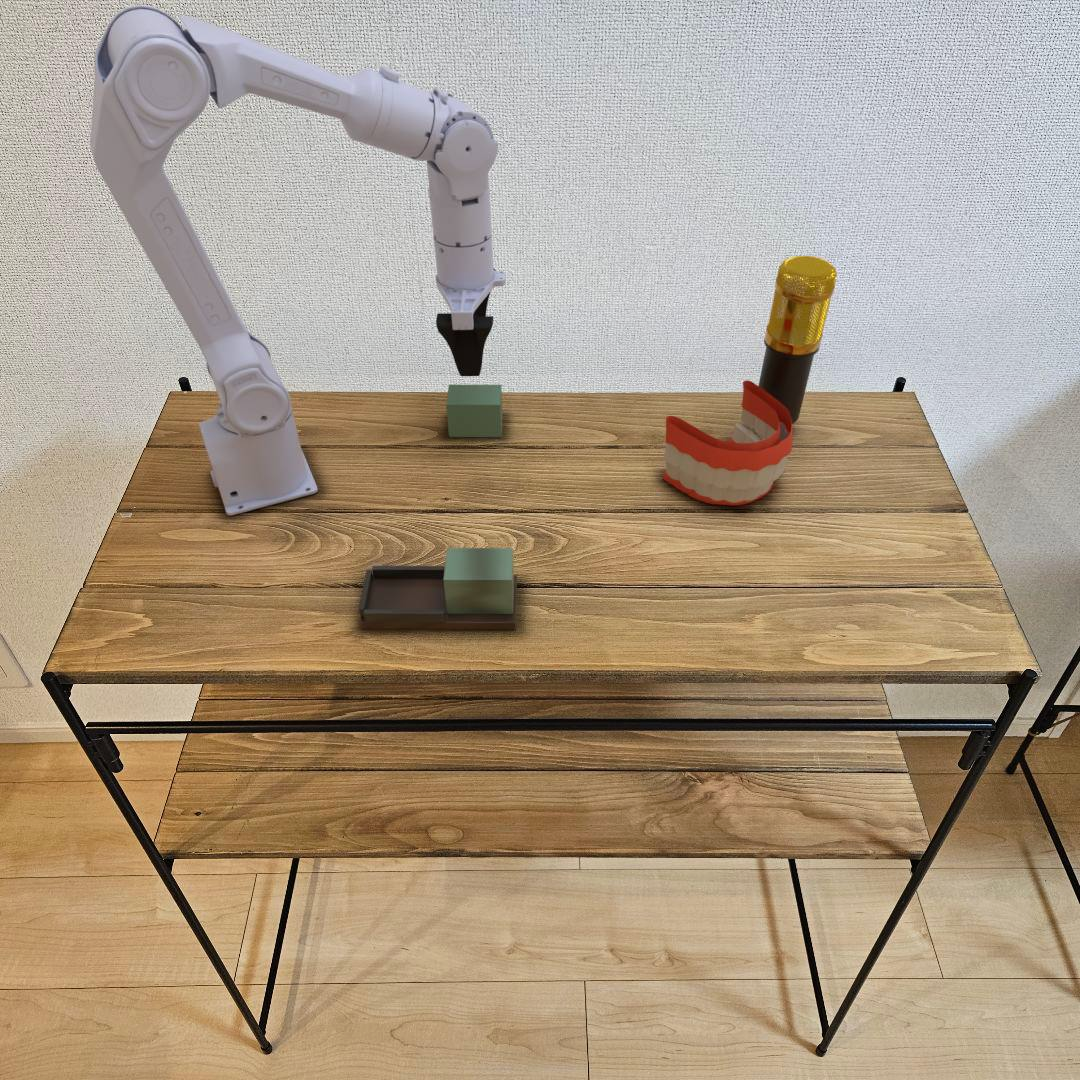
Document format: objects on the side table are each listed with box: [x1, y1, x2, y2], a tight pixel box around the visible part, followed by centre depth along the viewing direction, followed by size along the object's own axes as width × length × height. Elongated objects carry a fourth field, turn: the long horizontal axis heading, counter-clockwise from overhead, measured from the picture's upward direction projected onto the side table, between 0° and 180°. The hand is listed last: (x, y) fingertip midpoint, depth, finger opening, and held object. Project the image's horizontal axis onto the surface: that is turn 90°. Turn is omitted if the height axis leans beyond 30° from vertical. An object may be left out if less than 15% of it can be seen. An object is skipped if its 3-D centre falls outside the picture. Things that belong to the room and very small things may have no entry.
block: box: [445, 384, 503, 438], centre depth 101 cm, size 6×4×4 cm, turn 90°
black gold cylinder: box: [757, 255, 838, 426], centre depth 96 cm, size 6×13×20 cm, turn 94°
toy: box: [662, 379, 794, 506], centre depth 93 cm, size 12×10×8 cm
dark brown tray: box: [358, 547, 518, 631], centre depth 81 cm, size 14×6×6 cm, turn 90°
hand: (471, 354), depth 96 cm, fingers open, 7 cm apart
